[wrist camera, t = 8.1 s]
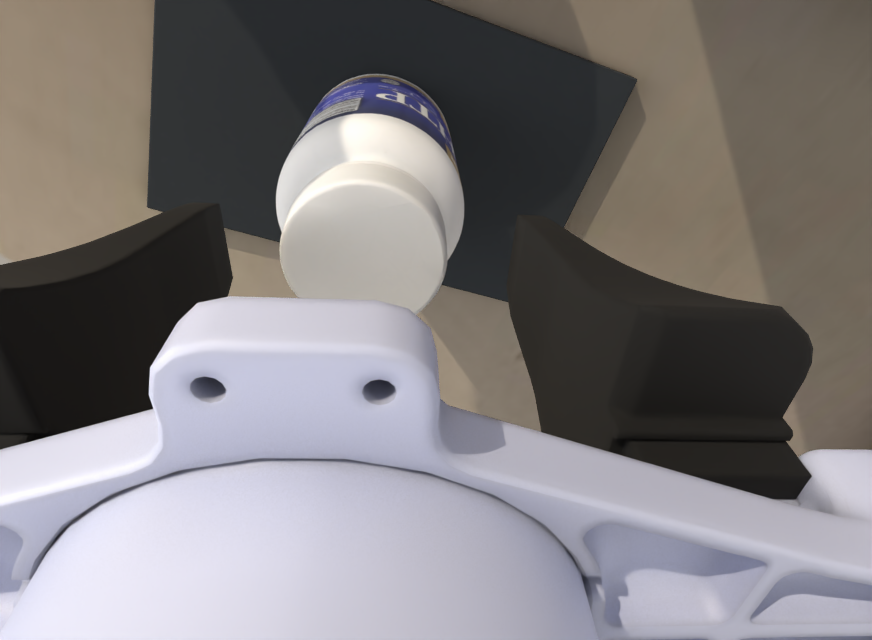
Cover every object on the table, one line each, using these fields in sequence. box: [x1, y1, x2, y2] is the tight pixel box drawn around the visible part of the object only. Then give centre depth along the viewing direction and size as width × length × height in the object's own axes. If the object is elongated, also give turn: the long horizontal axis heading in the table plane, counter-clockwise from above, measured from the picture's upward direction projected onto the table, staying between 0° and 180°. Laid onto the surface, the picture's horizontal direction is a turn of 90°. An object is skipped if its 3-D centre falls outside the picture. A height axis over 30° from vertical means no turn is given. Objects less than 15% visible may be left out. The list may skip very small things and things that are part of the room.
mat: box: [147, 0, 637, 302], centre depth 20 cm, size 16×10×1 cm, turn 72°
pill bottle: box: [276, 74, 464, 315], centre depth 16 cm, size 5×5×9 cm
